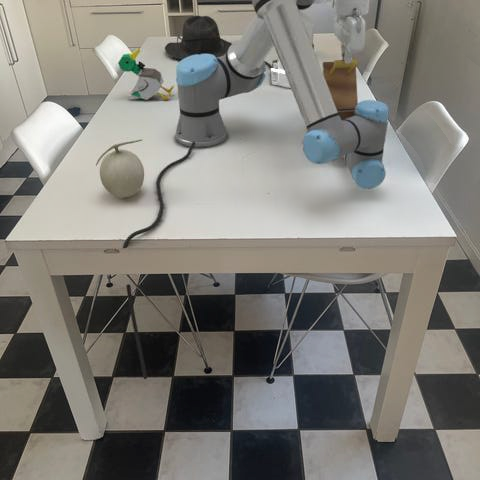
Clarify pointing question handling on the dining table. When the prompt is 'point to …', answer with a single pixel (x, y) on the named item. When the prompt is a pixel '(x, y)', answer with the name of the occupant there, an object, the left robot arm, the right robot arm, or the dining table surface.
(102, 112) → the dining table surface
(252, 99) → the dining table surface
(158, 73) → the toy
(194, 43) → the hat
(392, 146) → the dining table surface
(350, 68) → the lid
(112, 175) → the fruit
